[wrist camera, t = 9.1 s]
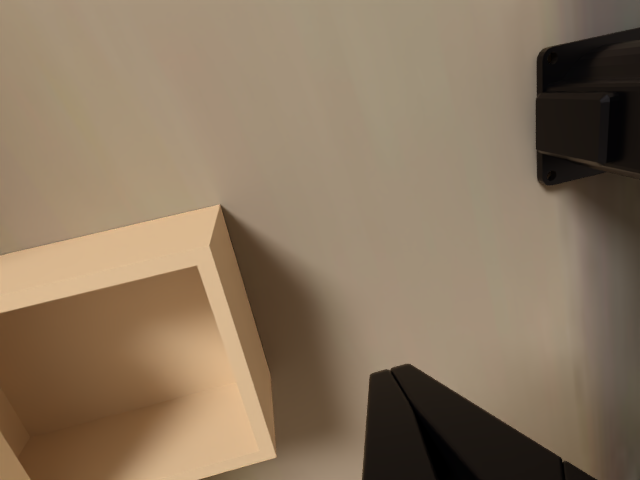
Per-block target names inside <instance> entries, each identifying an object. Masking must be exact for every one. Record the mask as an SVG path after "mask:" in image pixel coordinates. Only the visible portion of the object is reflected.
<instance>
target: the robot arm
mask: <svg viewBox="0 0 640 480" xmlns="http://www.w3.org/2000/svg"><path fill="white" fill-rule="evenodd" d="M549 54H551V56H552V60H551V62H550V64H549V63H548V60H547V59H548V56H549ZM536 149H537V178H538V181H539V182H540V183H542V184H545V185H555V184H559V183H563V182H567V181H571V180H576V179H580V178H584V177H588V176H592V175H596V174H600V173H604V172H610V173H615V174H619V175H624V176H628V177H633V178H637V179H640V27H639V28H635V29H630V30H625V31H621V32H616V33H612V34H607V35H602V36H598V37H593V38H588V39H584V40H579V41H574V42H570V43H565V44H560V45H556V46H551V47H547V48H544V49H543V50H542V51H541V52H540V53H539V55H538V57H537V98H536ZM550 171H551V175H550V177H549V178H548V179H547V174H548V173H549V172H550ZM362 480H597V479H595V478H593V477H592V476H590V475H588V474H587V473H585V472H583V471H582V470H580V469H579V468H577V467H575V466H574V465H572V464H571V463H569V462H567V461H564V462H562V459H561V458H560V457H559V456H557V455H556V454H554V453H553V452H551V451H549V450H548V449H546V448H544V447H543V446H541V445H540V444H538V443H536V442H535V441H533V440H532V439H530V438H528V437H527V436H525V435H524V434H522V433H520V432H519V431H517V430H516V429H514V428H512V427H511V426H509V425H507V424H506V423H504V422H503V421H501V420H499V419H498V418H496V417H495V416H493V415H491V414H490V413H488V412H487V411H485V410H483V409H482V408H480V407H479V406H477V405H475V404H474V403H472V402H470V401H469V400H467V399H466V398H464V397H462V396H461V395H459V394H458V393H456V392H454V391H453V390H451V389H450V388H448V387H446V386H445V385H443V384H442V383H440V382H438V381H437V380H435V379H433V378H432V377H430V376H429V375H427V374H425V373H424V372H422V371H421V370H419V369H417V368H416V367H414V366H413V365H411V364H404V365H400V366H396V367H393V368H391V370H387V369H385V370H382V371H378V372H374V373H372V374H371V375H370V379H369V393H368V406H367V419H366V433H365V446H364V459H363V473H362Z"/></svg>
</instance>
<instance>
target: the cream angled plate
mask: <svg viewBox="0 0 640 480" xmlns="http://www.w3.org/2000/svg"><path fill="white" fill-rule="evenodd" d="M0 480H31V479H30V478H29V476H28V475H27V473H26V471H25V470H24V468H23V467H22V465H21V463H20V462H19V460H18V459H17V457H16V456H15V454H14V452H13V451H12V449H11V448H10V446H9V444H8V443H7V441H6V440H5V438H4V436H3V435H2V433H1V432H0Z"/></svg>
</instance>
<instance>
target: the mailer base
mask: <svg viewBox="0 0 640 480" xmlns="http://www.w3.org/2000/svg"><path fill="white" fill-rule="evenodd" d="M0 432H1V433H2V435H3V436H4V438H5V440H6V441H7V443H8V444H9V446H10V448H11V449H12V451H13V452H14V454H15V456H16V457H17V459H18V460H19V462H20V463H21V465H22V467H23V468H24V470H25V471H26V473H27V475H28V476H29V478H30V479H31V480H199V479H202V478H206V477H209V476H213V475H216V474H220V473H223V472H227V471H230V470H234V469H237V468H241V467H244V466H248V465H252V464H255V463H259V462H262V461H266V460H269V459H273V458H276V457H277V456H276V442H275V428H274V414H273V401H272V387H271V375H270V372H269V368H268V365H267V361H266V358H265V355H264V351H263V348H262V345H261V341H260V338H259V334H258V331H257V328H256V324H255V321H254V318H253V314H252V311H251V307H250V304H249V301H248V297H247V294H246V291H245V287H244V284H243V280H242V277H241V274H240V270H239V267H238V264H237V260H236V257H235V253H234V250H233V247H232V243H231V240H230V237H229V233H228V230H227V226H226V223H225V220H224V216H223V213H222V209H221V206H220V205H216V206H211V207H207V208H203V209H198V210H194V211H190V212H185V213H181V214H177V215H173V216H168V217H164V218H160V219H155V220H151V221H147V222H142V223H138V224H134V225H129V226H125V227H121V228H116V229H112V230H108V231H103V232H99V233H95V234H90V235H86V236H82V237H78V238H73V239H69V240H65V241H60V242H56V243H52V244H47V245H43V246H39V247H34V248H30V249H26V250H21V251H17V252H13V253H8V254H4V255H0Z"/></svg>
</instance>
